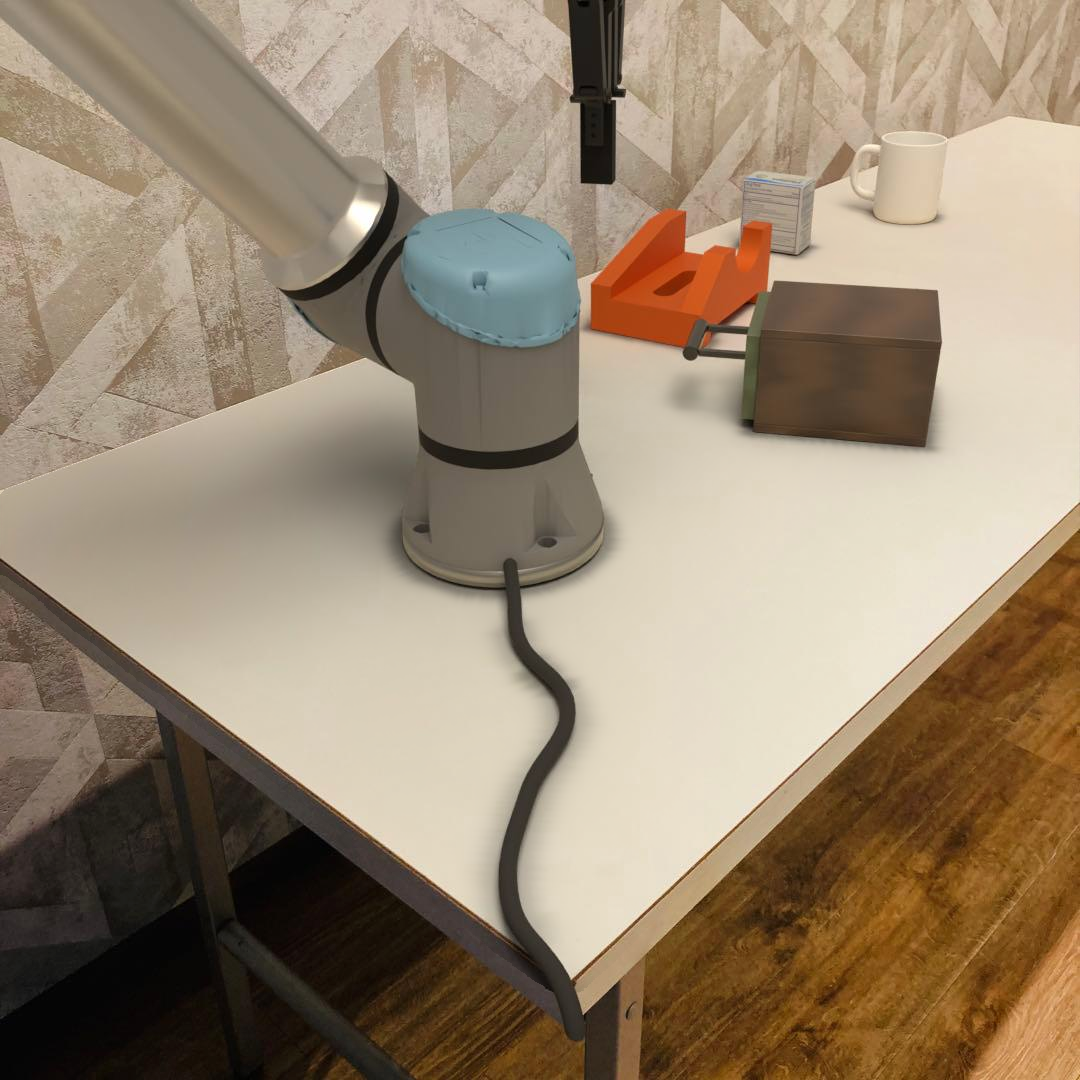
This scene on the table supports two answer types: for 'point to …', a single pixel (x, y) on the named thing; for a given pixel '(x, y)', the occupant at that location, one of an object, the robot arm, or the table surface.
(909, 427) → the cabinet
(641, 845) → the table surface
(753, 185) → the medicine box
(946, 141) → the cup
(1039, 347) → the table surface
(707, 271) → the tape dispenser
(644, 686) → the table surface
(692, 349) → the drawer
